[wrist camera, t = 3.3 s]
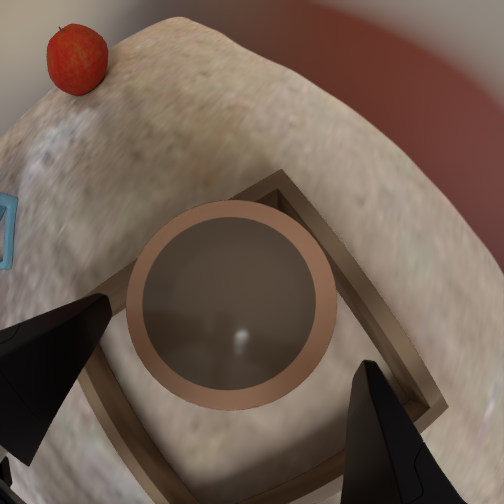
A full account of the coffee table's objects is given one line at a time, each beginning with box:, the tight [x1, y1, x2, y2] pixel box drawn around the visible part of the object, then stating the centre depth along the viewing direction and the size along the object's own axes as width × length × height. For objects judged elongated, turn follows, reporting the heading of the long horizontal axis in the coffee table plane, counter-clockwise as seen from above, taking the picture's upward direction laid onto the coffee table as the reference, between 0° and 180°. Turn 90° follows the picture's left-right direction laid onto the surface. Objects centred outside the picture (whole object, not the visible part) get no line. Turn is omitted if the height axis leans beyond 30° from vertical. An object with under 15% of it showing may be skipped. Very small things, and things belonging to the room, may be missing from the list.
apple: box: [47, 24, 108, 96], centre depth 23 cm, size 8×8×11 cm
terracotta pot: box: [126, 200, 337, 411], centre depth 13 cm, size 6×6×10 cm
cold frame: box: [77, 169, 448, 504], centre depth 15 cm, size 18×18×3 cm
